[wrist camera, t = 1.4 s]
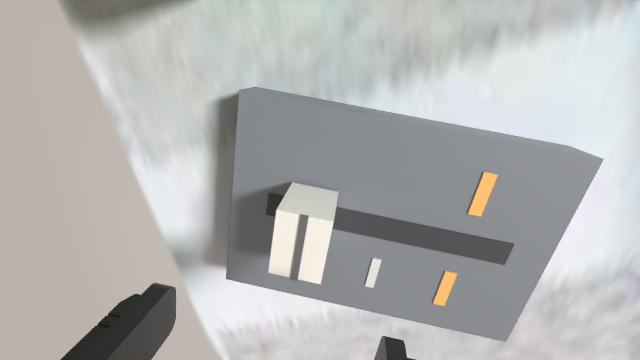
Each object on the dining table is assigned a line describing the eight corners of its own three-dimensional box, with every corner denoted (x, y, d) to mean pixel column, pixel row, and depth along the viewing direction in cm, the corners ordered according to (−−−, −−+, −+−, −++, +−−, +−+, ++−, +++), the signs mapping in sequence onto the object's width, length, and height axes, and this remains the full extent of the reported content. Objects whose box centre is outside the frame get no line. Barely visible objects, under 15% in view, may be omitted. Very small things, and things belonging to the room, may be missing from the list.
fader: (292, 181, 19) (276, 209, 15) (338, 191, 19) (333, 222, 15) (284, 236, 21) (267, 274, 17) (327, 245, 21) (320, 286, 17)
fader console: (255, 87, 21) (238, 90, 18) (569, 146, 20) (605, 159, 17) (240, 256, 26) (225, 279, 23) (489, 310, 25) (506, 343, 22)
